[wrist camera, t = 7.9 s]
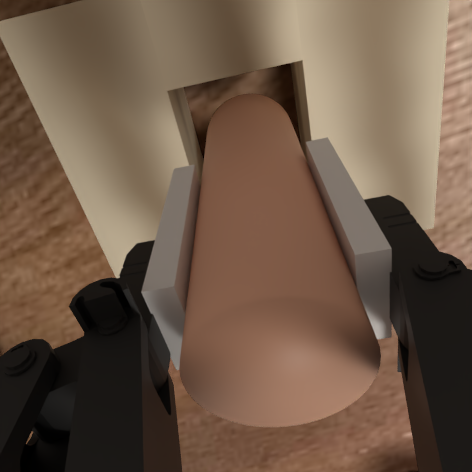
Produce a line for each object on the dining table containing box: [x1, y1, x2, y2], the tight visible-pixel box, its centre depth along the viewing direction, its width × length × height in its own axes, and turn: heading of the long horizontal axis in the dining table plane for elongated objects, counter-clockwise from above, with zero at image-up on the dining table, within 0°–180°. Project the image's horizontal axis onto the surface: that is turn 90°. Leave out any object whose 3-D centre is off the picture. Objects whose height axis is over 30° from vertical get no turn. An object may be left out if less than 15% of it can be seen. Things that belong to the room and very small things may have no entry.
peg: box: [179, 94, 381, 427], centre depth 14 cm, size 4×4×13 cm
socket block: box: [0, 0, 449, 278], centre depth 21 cm, size 18×14×5 cm
